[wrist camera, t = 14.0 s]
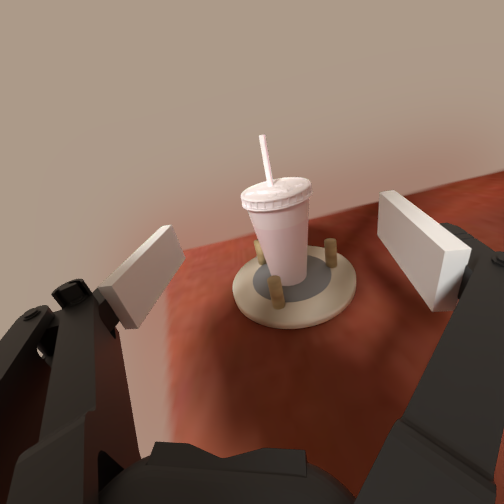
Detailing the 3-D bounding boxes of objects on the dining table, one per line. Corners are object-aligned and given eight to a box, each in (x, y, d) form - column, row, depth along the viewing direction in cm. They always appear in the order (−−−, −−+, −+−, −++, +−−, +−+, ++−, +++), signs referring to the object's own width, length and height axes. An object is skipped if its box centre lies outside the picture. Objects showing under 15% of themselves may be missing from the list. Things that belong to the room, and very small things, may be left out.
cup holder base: (357, 252, 29) (357, 222, 27) (353, 340, 19) (353, 301, 17) (258, 251, 34) (252, 225, 32) (213, 318, 24) (201, 287, 22)
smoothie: (290, 253, 30) (271, 129, 23) (333, 272, 25) (325, 121, 18) (249, 277, 27) (213, 145, 20) (287, 304, 22) (257, 141, 15)
